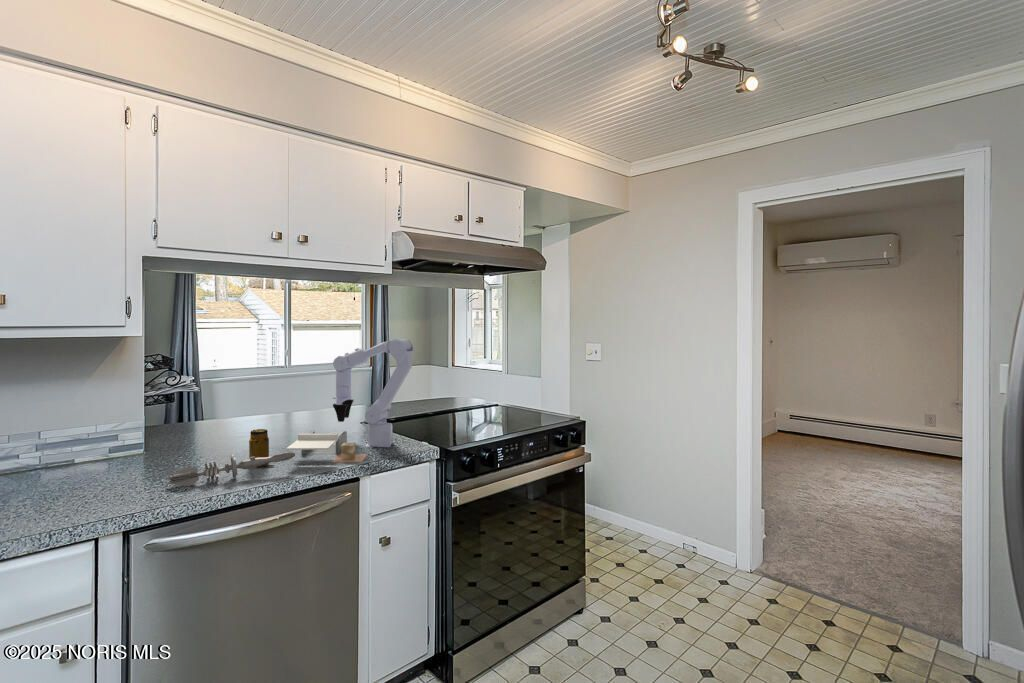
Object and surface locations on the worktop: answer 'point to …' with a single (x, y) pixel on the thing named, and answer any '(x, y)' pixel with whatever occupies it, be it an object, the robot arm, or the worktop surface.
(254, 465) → the spaceship
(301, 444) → the cover
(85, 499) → the worktop surface
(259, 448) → the condiment
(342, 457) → the block
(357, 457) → the tile
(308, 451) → the case
